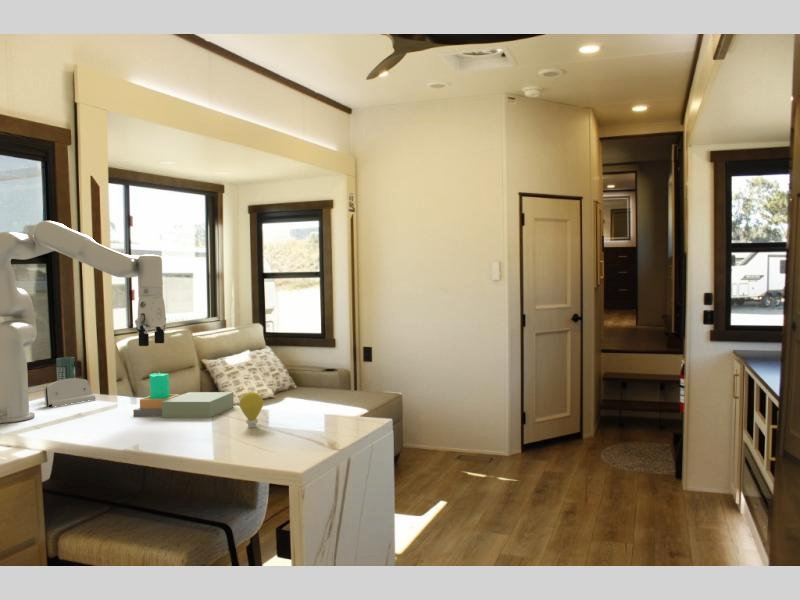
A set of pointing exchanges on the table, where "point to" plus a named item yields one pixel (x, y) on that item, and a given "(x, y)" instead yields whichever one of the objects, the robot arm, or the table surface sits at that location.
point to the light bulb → (251, 407)
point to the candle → (159, 386)
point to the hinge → (68, 392)
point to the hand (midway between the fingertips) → (151, 344)
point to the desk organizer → (186, 405)
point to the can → (65, 368)
